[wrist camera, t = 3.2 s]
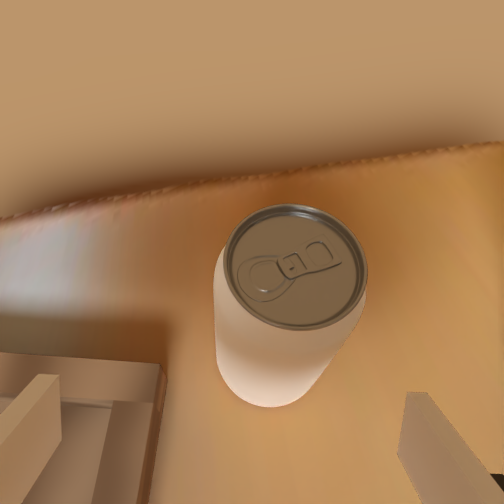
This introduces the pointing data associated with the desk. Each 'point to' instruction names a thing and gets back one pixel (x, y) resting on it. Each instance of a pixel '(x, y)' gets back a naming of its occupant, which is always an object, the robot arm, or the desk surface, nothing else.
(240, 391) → the can
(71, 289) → the desk surface
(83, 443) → the holder
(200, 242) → the desk surface
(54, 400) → the robot arm
